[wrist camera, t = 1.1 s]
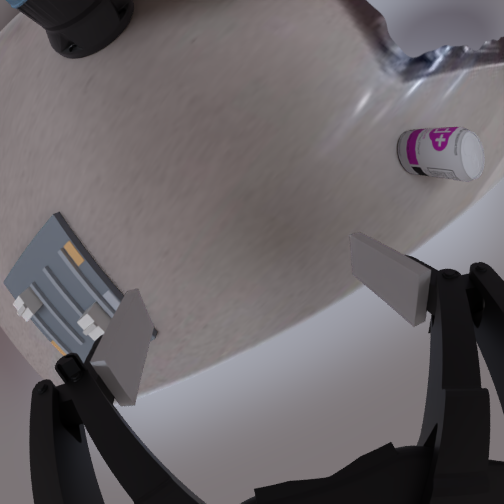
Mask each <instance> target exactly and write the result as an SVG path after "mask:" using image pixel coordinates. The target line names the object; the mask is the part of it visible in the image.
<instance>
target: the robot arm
mask: <svg viewBox="0 0 504 504" xmlns="http://www.w3.org/2000/svg"><path fill="white" fill-rule="evenodd" d="M6 1H7V2H8V3H9V4H10V5H11V7H13V8H16V9H18V10H19V11H20V12H22V13H23V14H25V15H26V16H28V17H29V18H30V19H32V20H33V21H35V22H36V23H37V24H39V25H40V26H42V27H43V28H44V29H45V30H46V33H47V35H48V38H49V41H50V43H51V46H52V47H53V49H54V50H55V51H56V52H58V53H59V54H61V55H62V56H64V57H67V58H80V57H84V56H88V55H90V54H93V53H95V52H97V51H99V50H100V49H102V48H104V47H105V46H107V45H108V44H109V43H111V42H112V41H113V40H114V39H115V38H117V37H118V36H119V35H120V34H121V32H122V31H123V30H124V29H125V28H126V26H127V25H128V23H129V21H130V19H131V17H132V15H133V11H134V3H133V0H6ZM349 237H350V248H351V261H352V275H354V276H355V277H356V278H357V279H358V280H360V281H361V282H362V283H363V284H364V285H366V286H367V287H368V288H369V289H370V290H372V291H373V292H374V293H375V294H376V295H378V296H379V297H380V298H381V299H382V300H383V301H385V302H386V303H387V304H388V305H389V306H390V307H392V308H393V309H394V310H395V311H396V312H397V313H398V314H400V315H401V316H402V317H403V318H404V319H405V320H406V321H408V322H409V323H410V324H411V325H412V326H413V327H415V326H417V325H419V324H420V323H422V322H424V321H425V319H426V312H427V311H428V312H430V313H431V314H432V315H431V321H430V327H429V332H428V333H431V341H430V366H429V378H428V389H427V398H426V405H425V412H424V418H423V424H422V429H421V435H420V438H419V441H418V444H417V446H405V447H399V448H394V446H393V444H392V443H391V442H390V443H388V444H386V445H384V446H382V447H380V448H378V449H376V450H374V451H371V452H369V453H367V454H365V455H363V456H360V457H359V458H358V459H356V460H355V461H353V462H352V463H351V464H349V465H347V466H346V467H345V468H343V469H341V470H340V471H338V472H337V473H335V474H333V475H332V476H330V477H326V478H319V479H309V480H299V481H298V480H297V481H287V482H284V483H280V484H276V485H271V486H266V487H261V488H256V489H254V491H255V496H254V497H252V498H250V499H248V500H246V501H244V502H242V503H241V504H504V462H502V461H495V460H488V458H489V444H490V398H489V392H488V389H486V388H481V378H480V367H479V358H478V351H477V345H476V342H477V344H478V346H479V348H480V350H481V352H482V355H483V357H484V360H485V362H486V364H487V367H488V370H489V372H490V375H491V377H492V380H493V383H494V385H495V388H496V391H497V394H498V397H499V400H500V403H501V406H502V410H503V413H504V281H503V280H502V279H501V277H500V276H498V274H497V273H496V272H495V271H494V270H493V269H492V268H491V267H490V266H489V265H487V264H485V263H483V262H479V263H473V264H472V265H471V266H470V272H469V274H465V275H461V274H460V273H459V272H457V271H456V270H453V269H442V270H440V271H438V270H436V269H434V268H432V267H431V266H429V265H427V264H424V262H422V261H419V260H418V259H416V258H414V257H412V256H408V255H403V254H401V253H400V252H398V251H396V250H394V249H392V248H390V247H388V246H386V245H384V244H382V243H381V242H379V241H377V240H375V239H373V238H371V237H369V236H367V235H365V234H363V233H361V232H357V233H354V234H350V235H349ZM153 329H154V325H153V323H152V321H151V318H150V316H149V314H148V311H147V309H146V307H145V304H144V302H143V299H142V297H141V295H140V292H139V290H138V289H134V290H130V291H127V292H126V294H125V296H124V297H123V299H122V301H121V303H120V305H119V306H118V308H117V310H116V312H115V314H114V316H113V317H112V319H111V321H110V323H109V325H108V327H107V329H106V331H105V333H104V334H103V335H101V336H100V337H99V338H98V339H97V340H96V341H95V342H94V344H93V346H92V349H91V350H90V352H89V354H88V356H87V358H86V360H85V362H84V363H83V362H82V360H81V358H80V357H79V355H78V354H77V353H69V354H67V355H64V356H63V357H62V358H60V359H59V360H58V361H57V363H56V365H55V370H56V371H57V373H58V374H59V376H60V377H61V378H62V380H63V381H64V383H65V384H62V385H59V386H55V385H54V384H53V382H52V381H51V380H48V379H46V380H42V381H41V382H38V384H36V386H35V388H34V389H33V391H32V399H31V411H30V412H31V413H30V442H29V443H30V470H31V481H32V491H33V498H34V504H104V501H103V498H102V495H101V492H100V489H99V485H98V482H97V479H96V476H95V472H94V469H93V465H92V461H91V457H90V453H89V448H88V444H87V439H86V435H85V429H84V425H85V427H86V429H87V431H88V433H89V435H90V437H91V438H92V440H93V442H94V444H95V445H96V447H97V449H98V451H99V452H100V454H101V456H102V457H103V459H104V460H105V462H106V464H107V465H108V467H109V468H110V470H111V471H112V473H113V474H114V476H115V477H116V478H117V480H118V481H119V483H120V484H121V485H122V487H123V488H124V489H125V491H126V492H127V493H128V495H129V496H130V497H131V499H132V500H133V501H134V504H206V503H205V502H204V501H202V500H201V499H200V498H199V497H198V496H196V495H195V494H194V493H193V492H192V491H191V490H189V489H188V488H187V487H186V486H185V485H184V484H183V483H182V482H181V481H180V480H178V479H177V478H176V477H175V476H174V475H173V474H172V473H171V472H170V471H169V470H168V469H167V468H166V467H165V466H164V465H163V464H162V463H161V462H160V461H159V460H158V459H157V458H156V456H154V454H153V453H152V452H151V451H150V450H149V449H148V448H147V446H146V445H145V444H144V443H143V442H142V441H141V440H140V438H139V437H138V436H137V435H136V434H135V432H134V431H133V430H132V429H131V428H130V426H129V425H128V424H127V422H126V421H125V420H124V419H123V417H122V416H121V415H120V413H119V412H118V411H117V409H116V408H115V407H114V405H113V402H114V398H115V399H116V401H117V402H118V403H119V405H120V406H133V405H135V402H136V398H137V394H138V389H139V385H140V380H141V376H142V372H143V368H144V364H145V359H146V356H147V352H148V348H149V344H150V340H151V336H152V333H153Z"/></svg>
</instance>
